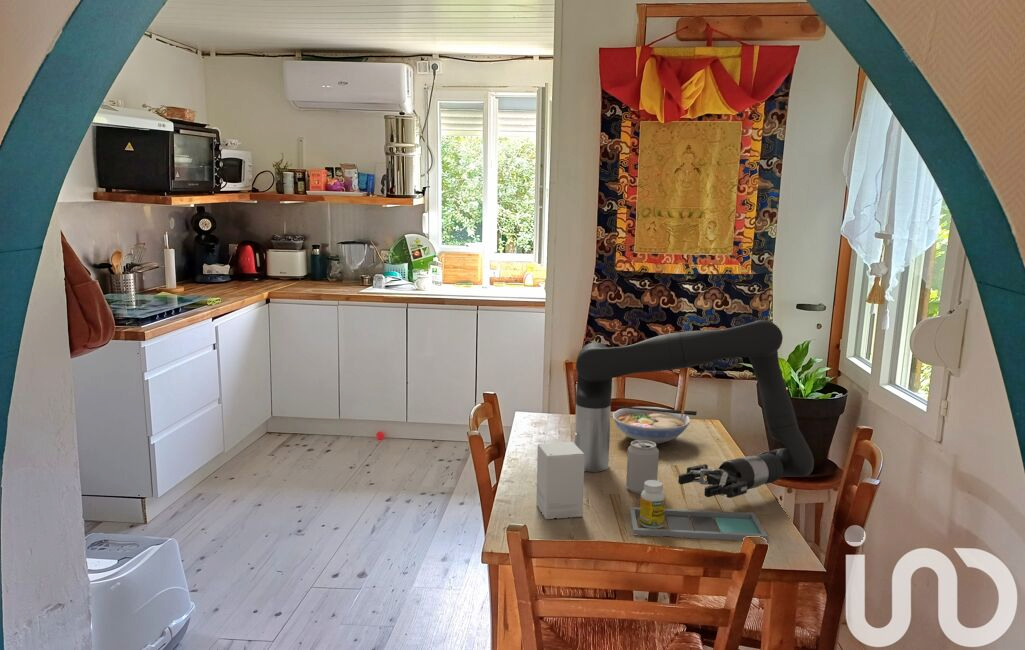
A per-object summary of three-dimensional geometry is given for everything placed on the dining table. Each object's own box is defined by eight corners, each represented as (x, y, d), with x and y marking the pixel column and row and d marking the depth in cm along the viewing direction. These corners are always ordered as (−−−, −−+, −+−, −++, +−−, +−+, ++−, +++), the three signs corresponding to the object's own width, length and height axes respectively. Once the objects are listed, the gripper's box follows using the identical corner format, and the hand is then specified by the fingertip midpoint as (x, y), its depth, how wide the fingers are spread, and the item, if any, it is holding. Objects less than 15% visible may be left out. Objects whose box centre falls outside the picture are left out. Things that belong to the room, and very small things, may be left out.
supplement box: (583, 517, 169) (586, 453, 167) (545, 520, 168) (546, 456, 165) (572, 501, 178) (574, 440, 176) (535, 504, 176) (536, 443, 174)
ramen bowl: (600, 447, 217) (601, 420, 216) (615, 425, 239) (616, 400, 237) (689, 458, 209) (690, 429, 208) (696, 434, 231) (697, 408, 229)
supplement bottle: (652, 517, 170) (654, 476, 168) (669, 526, 166) (671, 484, 164) (634, 522, 167) (636, 481, 165) (651, 531, 163) (653, 489, 161)
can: (638, 497, 181) (640, 449, 179) (620, 487, 188) (621, 440, 186) (663, 492, 184) (665, 445, 182) (644, 482, 191) (646, 436, 189)
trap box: (633, 535, 161) (633, 529, 161) (629, 512, 173) (629, 507, 172) (767, 541, 159) (767, 536, 158) (753, 517, 170) (754, 512, 170)
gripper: (722, 449, 184) (671, 460, 176) (768, 467, 172) (715, 480, 164) (721, 479, 185) (670, 491, 177) (766, 499, 173) (714, 513, 165)
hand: (692, 486), depth 171 cm, fingers open, 8 cm apart
